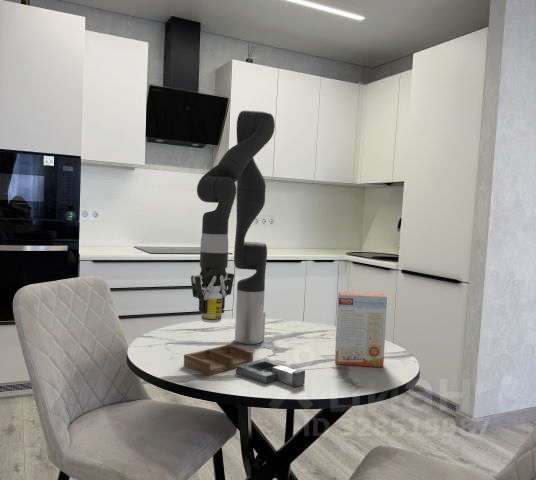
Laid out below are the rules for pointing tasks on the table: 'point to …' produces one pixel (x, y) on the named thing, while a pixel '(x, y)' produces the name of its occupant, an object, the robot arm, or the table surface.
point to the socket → (253, 370)
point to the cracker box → (360, 329)
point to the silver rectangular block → (289, 375)
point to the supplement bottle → (213, 306)
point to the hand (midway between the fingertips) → (211, 311)
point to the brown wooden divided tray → (217, 359)
